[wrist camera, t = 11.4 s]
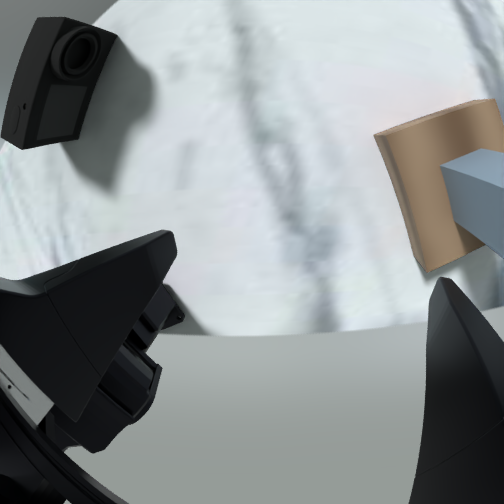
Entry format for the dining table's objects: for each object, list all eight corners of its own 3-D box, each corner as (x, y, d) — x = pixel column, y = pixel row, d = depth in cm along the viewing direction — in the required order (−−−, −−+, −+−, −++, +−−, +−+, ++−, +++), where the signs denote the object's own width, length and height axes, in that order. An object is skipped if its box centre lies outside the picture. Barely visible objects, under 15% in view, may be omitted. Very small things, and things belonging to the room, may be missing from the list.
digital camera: (86, 145, 21) (29, 157, 15) (52, 129, 21) (-2, 138, 14) (128, 36, 16) (74, 16, 10) (87, 30, 16) (35, 17, 10)
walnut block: (413, 255, 20) (427, 273, 18) (373, 134, 17) (385, 135, 15) (501, 213, 17) (521, 225, 14) (474, 100, 14) (494, 98, 11)
